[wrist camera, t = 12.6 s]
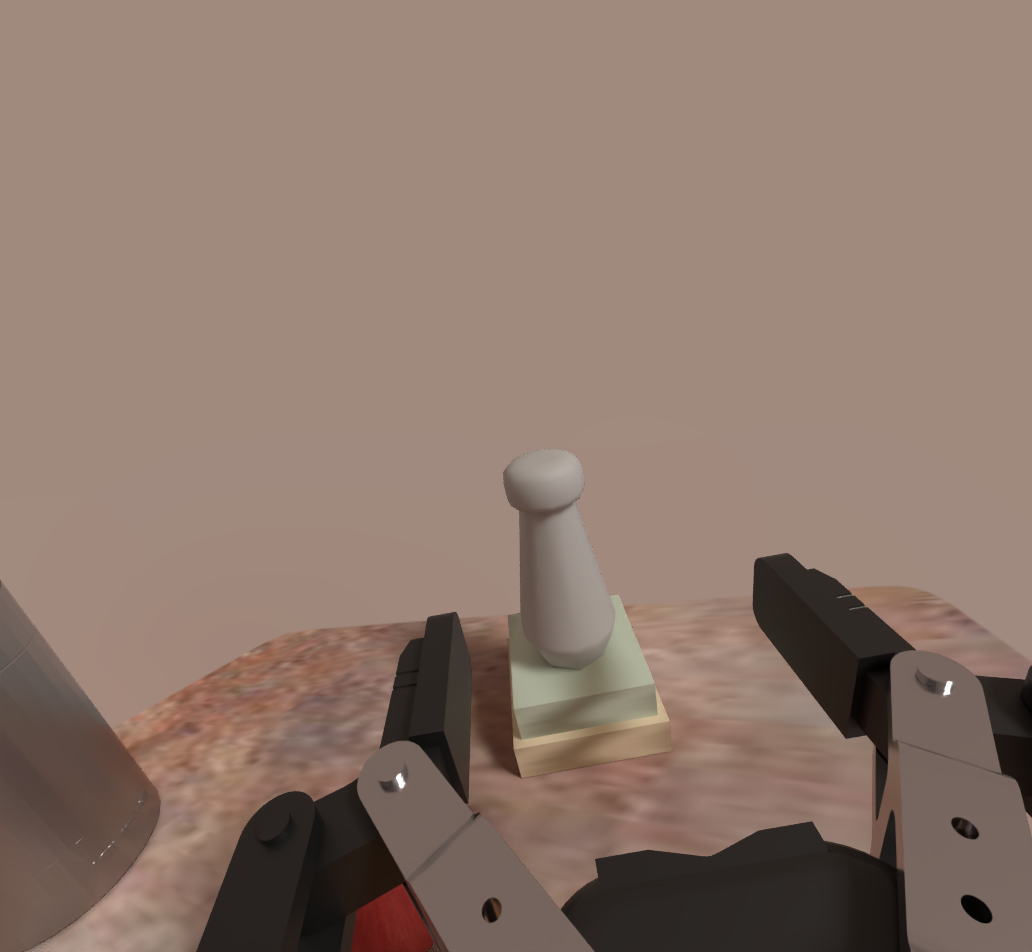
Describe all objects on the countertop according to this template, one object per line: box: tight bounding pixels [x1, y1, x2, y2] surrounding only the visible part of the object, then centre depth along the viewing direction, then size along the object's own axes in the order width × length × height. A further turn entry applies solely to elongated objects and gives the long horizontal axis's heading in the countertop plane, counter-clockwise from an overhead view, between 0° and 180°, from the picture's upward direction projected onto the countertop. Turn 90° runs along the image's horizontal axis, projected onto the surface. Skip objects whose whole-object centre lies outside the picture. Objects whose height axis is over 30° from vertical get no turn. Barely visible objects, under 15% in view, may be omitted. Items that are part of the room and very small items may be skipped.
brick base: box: [508, 595, 672, 778], centre depth 31 cm, size 9×9×5 cm
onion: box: [351, 884, 434, 952], centre depth 21 cm, size 6×6×8 cm
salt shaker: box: [503, 449, 616, 670], centre depth 28 cm, size 6×6×13 cm
